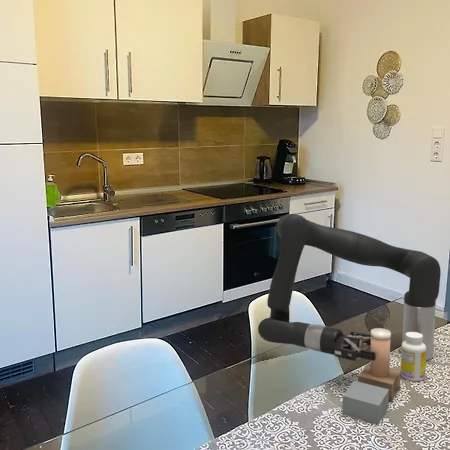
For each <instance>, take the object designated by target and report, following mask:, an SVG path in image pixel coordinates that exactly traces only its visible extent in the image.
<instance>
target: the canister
mask: <svg viewBox="0 0 450 450" xmlns="http://www.w3.org/2000/svg"><path fill="white" fill-rule="evenodd" d="M370 335H371V346H370V351H371V352H375V353H376V359H375V360H374V361H372V360H369V361H370V363H369V364H370V374H371V375H373V376H375V377H378V378H386V377H388V376H389V368H390V367H391V366H390V364H391V363H390V362H391V358H390V357H391V339H392V338H391V337H392V332H391V331H390V329H387V328H381V327H375V328H372V329H371V330H370Z"/></svg>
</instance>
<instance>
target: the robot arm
mask: <svg viewBox="0 0 450 450" xmlns="http://www.w3.org/2000/svg"><path fill="white" fill-rule="evenodd" d="M275 228H276V232H277V235H278V237H279V238H280V251H279V255H278V256H279V257H278V261H277V264H276V267H275V270H274V272H273V275H272V279H271V281H270V286H269V289H268V290H269V291H268V297H267V302H266V303H267V307H268V308H269V309H270V315H269V317H267V318H263V319H262V320H261V321H260V322H259V324H258V327H257V332H258V335H259V336H260V338H262V339H263V340H264V341H267V342H270V343H275V344H285V345H294V346H297V347H302V348H305V349H309V350H312V351H315V352H319V353H324V354H329V355H333V356H334V357H337V358H341V359H345V360H348V361H353V362H356V361H357V359H358V360H360V359H364V360H369V361H370V360H372V361H374V360H375V359H376V353H375V352H371V350H367V349H364V348H365V347H366V348H367V347H371V333H370V334H369V333H364V332H357V331H350V332H349V333H350V334H349V335H348V334H347V335H345V334H344V333H343V331H342V329H341V328H337V327H331V326H327V325H322V324H313V323H312V324H311V323H306V322H301V321H290V315H291V314H290V306H291V301H292V297H293V292H294V285H295V282H296V281H295V280H296V277H297V272H298V266H299V264H300V263H299V262H300V260H301V255H302V253H303V250H304V249H305V246H309V247H313V248H316V249H318V250H321V251H323V252H325V253H328V254H329V255H331V256H335V257H337V258H338V259H339V258H340V259H341V260H345V261H346V262H347V261H348V262H351V263H354V264H358V265H362V266H368V267H377V268H378V267H381V268H386V269H389V270H392V271H395V272H398V273H400V274H402V275H404V276H406V277H407V278H409V285H408V286H409V287H408V291H406V292H405V293H404V295H403V317H402V318H403V319H402V320H403V321H402V324H403V325H402V343H403V342H404V341H406V338H405V334H406V333H407V332H417V333H420V334H422V335H423V340H422V343H424V344H425V346H426V361H429V360H431V359H433V357H434V347H435V346H434V344H435V328H436V327H435V325H436V324H435V321H436V306H437V305H436V303H437V298H438V296H439V295H440V294H439V293H440V286H441V285H440V284H441V275H442V274H441V273H442V272H441V265H440V263H439V261H438V260H437V259H436V257H433V256H431V255H429V254H427V253H425V252H423V251H419V250H414V249H408V248H404V247H398V246H395V245H391V244H389V243H386V242H384V241H382V240H381V239H380V240H379V239H377V238H374V237H371V236H369V235H366V234H361V233H360V232H356V231H353V230H348V229H344V228H338V227H330V226H325V225H321V224H319V223H315V222H313V221H311V220H308V219H306V218H305V217H304V216H302V215H300V214H296V213H287V214H285V215H283V216H282V217H280V218H279V220H278V221H277V222H276V227H275Z"/></svg>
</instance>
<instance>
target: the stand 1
mask: <svg viewBox="0 0 450 450" xmlns="http://www.w3.org/2000/svg"><path fill="white" fill-rule="evenodd" d="M401 377H402V375H401V370H399V369H394V368H390V367H389V376H388V377H386V378H378V377H375V376H373V375H371V374H370V363H367V364H366V366H365V367H364V368H363V369H362V370H361V372H359V374H358V375H357V382H361V383H365V384H369V385H373V386H377V387H381V388H385V389H389V403H392V402H393V401H394V399H395V397H396V395H397V394H398V392H399V390H400V389H401Z"/></svg>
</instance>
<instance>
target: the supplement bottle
mask: <svg viewBox="0 0 450 450" xmlns="http://www.w3.org/2000/svg"><path fill="white" fill-rule="evenodd" d="M405 338H406V341H404V342H403V341H402V343H401V346H400V347H401V350H400V352H401V353H400V355H401V356H400V357H401V358H400V359H401V360H400V371H401V377H402V378H404V379H405V380H408V381H412V382H420V381H423V380H425V378H426V367H427V366H426V362H427V360H426V346H425V344H424V343H422V340H423V335H422V334H420V333H417V332H407V333H406V334H405Z"/></svg>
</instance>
